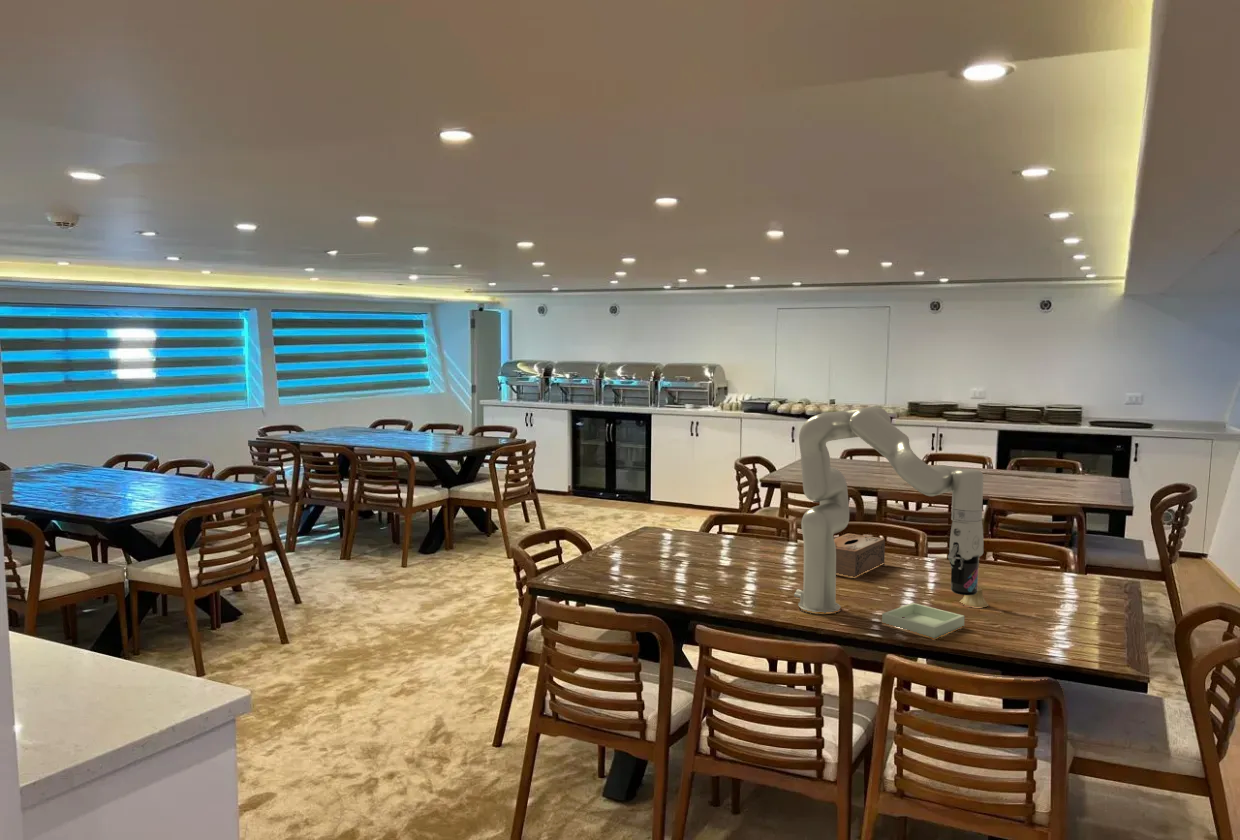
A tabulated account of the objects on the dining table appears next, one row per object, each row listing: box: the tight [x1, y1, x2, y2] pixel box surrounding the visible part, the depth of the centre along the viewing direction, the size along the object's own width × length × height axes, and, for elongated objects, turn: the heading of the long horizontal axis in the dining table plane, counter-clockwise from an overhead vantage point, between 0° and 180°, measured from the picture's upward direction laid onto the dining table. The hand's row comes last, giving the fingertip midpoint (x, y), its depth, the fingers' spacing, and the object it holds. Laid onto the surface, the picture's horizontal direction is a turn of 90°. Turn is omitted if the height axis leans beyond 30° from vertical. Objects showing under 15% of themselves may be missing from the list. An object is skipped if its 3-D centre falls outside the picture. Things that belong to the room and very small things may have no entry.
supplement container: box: [950, 555, 980, 596], centre depth 218 cm, size 7×7×10 cm
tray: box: [881, 602, 965, 639], centre depth 231 cm, size 16×16×4 cm
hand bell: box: [959, 563, 989, 607], centre depth 251 cm, size 8×8×16 cm
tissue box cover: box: [834, 533, 886, 577], centre depth 294 cm, size 26×14×10 cm, turn 140°
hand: (964, 580), depth 218 cm, fingers closed on supplement container, 6 cm apart
